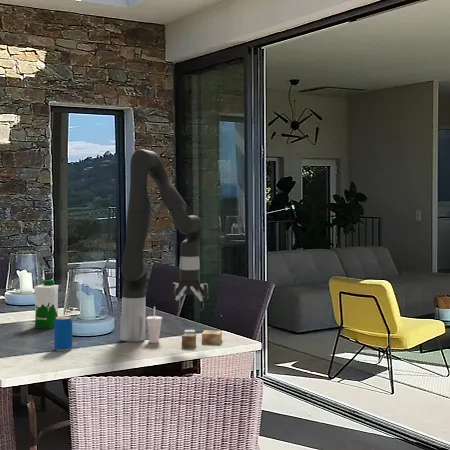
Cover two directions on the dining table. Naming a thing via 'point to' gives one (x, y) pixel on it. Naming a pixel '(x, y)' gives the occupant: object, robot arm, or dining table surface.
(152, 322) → the smoothie
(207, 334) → the teak block
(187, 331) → the slate-grey cube
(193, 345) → the walnut cube
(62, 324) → the beverage can
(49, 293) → the milk carton
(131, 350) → the dining table surface
